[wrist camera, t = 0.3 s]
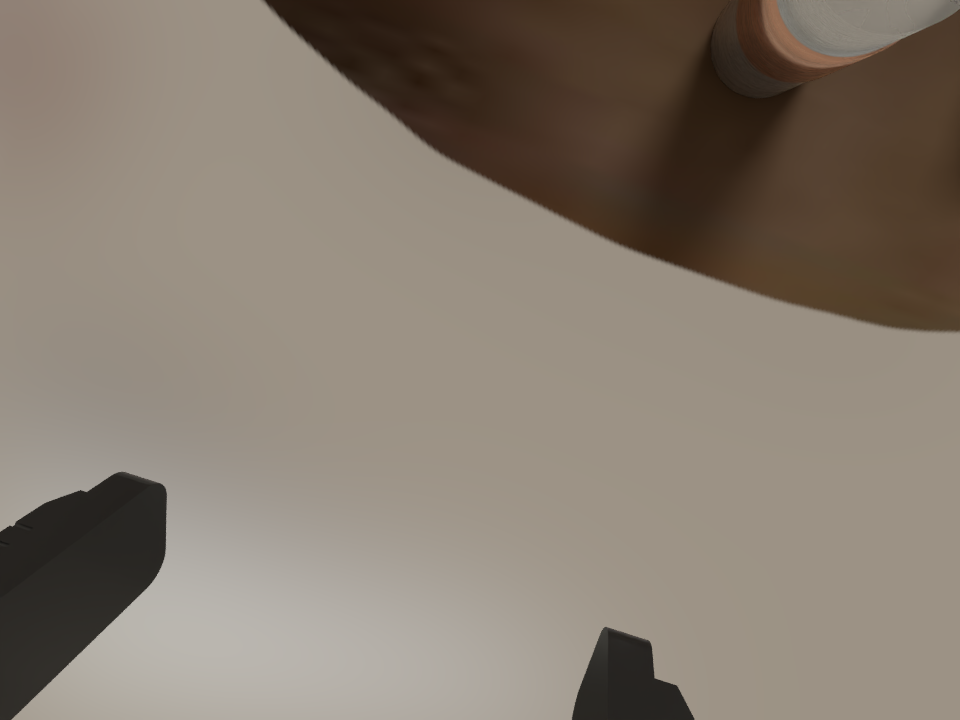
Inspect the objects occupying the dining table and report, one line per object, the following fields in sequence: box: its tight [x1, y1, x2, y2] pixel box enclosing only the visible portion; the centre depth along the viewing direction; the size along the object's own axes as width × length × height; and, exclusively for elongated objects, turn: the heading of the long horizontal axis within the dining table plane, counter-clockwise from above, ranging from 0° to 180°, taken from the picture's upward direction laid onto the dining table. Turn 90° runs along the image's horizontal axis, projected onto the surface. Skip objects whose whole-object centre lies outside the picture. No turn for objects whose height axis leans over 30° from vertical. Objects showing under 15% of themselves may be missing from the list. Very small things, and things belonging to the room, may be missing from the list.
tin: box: [711, 0, 960, 98], centre depth 25 cm, size 6×6×14 cm
